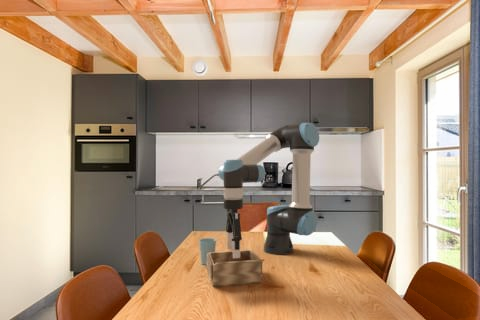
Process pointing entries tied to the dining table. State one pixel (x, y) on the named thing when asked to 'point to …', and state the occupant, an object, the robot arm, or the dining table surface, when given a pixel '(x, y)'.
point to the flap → (238, 262)
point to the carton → (233, 269)
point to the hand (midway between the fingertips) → (233, 253)
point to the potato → (242, 258)
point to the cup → (206, 248)
